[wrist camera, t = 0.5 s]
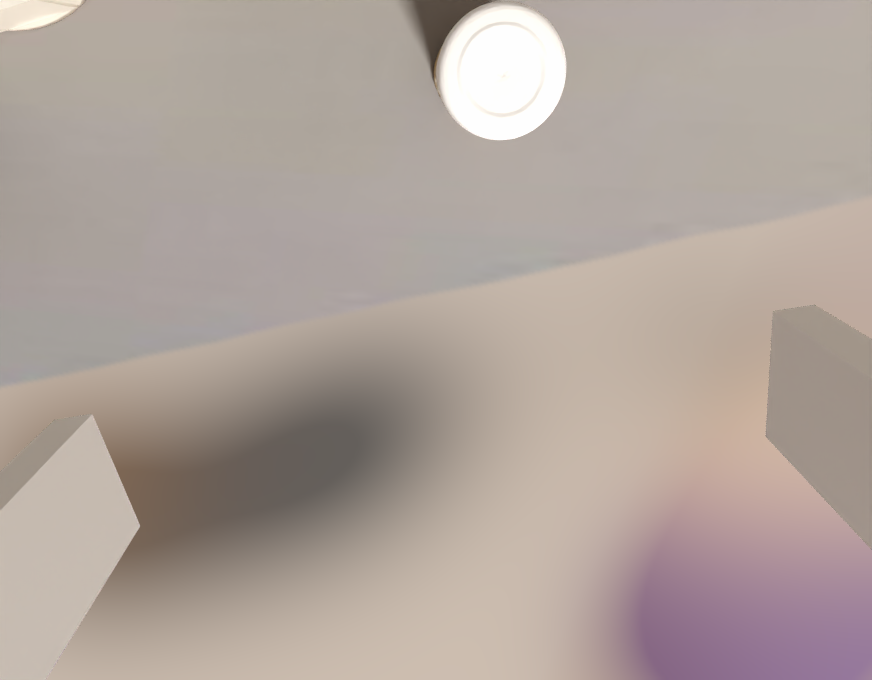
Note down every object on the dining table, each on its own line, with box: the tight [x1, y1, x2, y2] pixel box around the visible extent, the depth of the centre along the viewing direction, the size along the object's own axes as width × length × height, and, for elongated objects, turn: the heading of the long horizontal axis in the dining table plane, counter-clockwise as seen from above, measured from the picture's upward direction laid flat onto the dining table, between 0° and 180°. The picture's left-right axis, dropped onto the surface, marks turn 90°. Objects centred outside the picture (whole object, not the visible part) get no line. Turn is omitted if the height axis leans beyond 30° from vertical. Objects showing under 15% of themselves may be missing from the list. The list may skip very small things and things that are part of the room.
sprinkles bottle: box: [434, 1, 566, 140], centre depth 28 cm, size 5×5×13 cm
